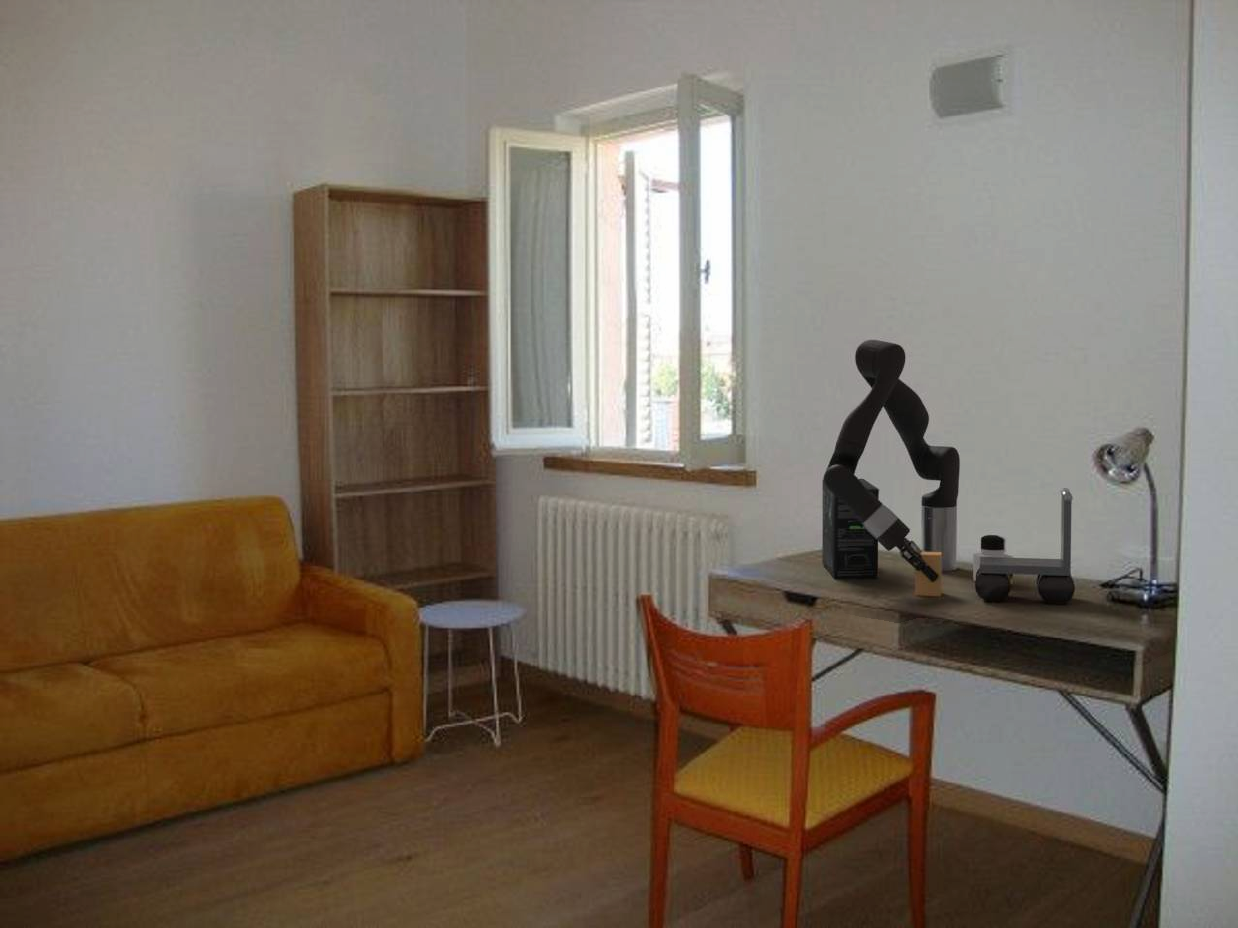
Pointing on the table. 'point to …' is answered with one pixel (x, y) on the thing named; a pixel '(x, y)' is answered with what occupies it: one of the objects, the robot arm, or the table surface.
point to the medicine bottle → (990, 551)
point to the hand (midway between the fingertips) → (936, 577)
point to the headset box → (847, 540)
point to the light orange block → (922, 582)
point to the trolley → (1032, 568)
